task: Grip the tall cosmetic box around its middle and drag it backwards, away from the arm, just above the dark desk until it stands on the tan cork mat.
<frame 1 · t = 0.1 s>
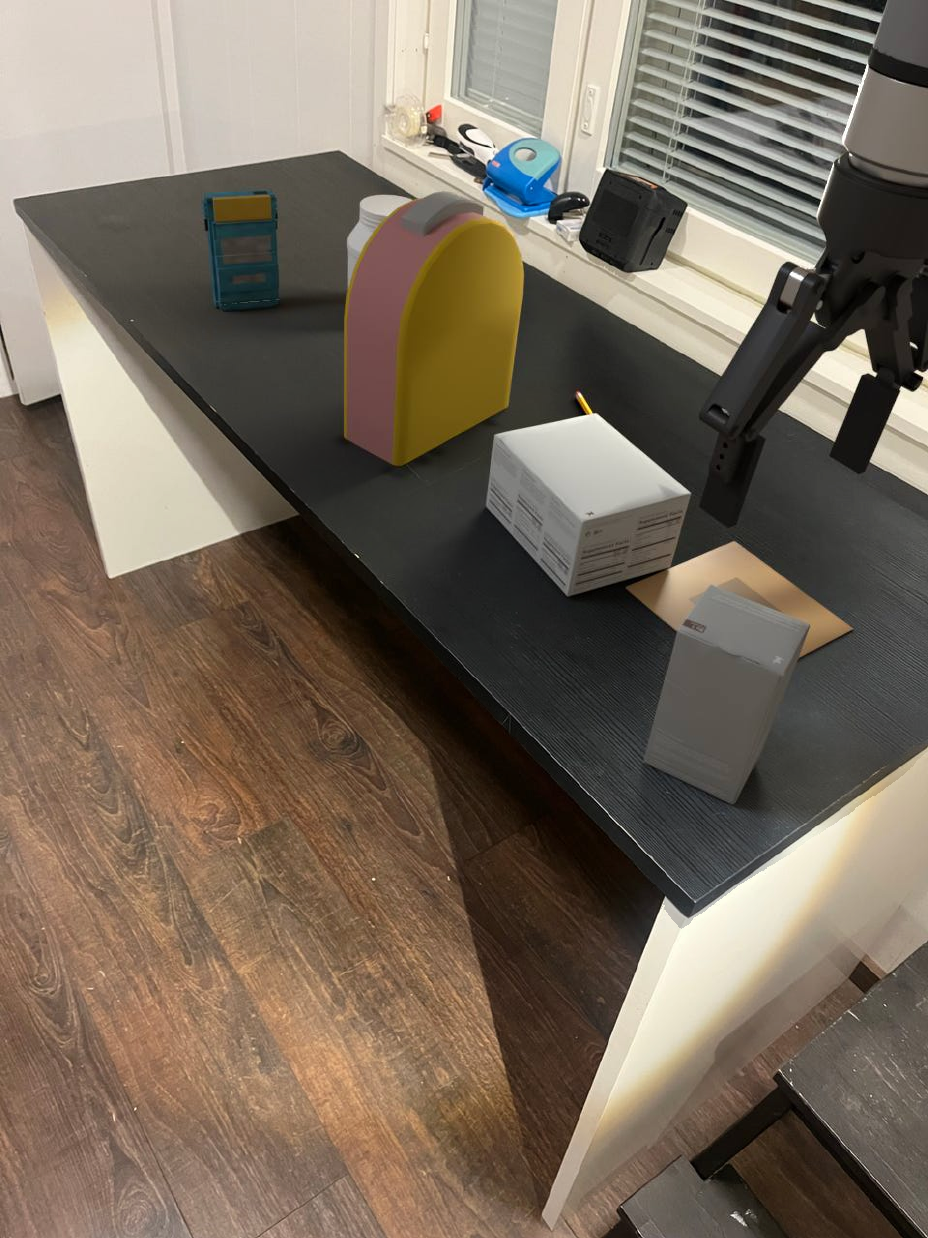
hand: (785, 489, 66), 25 cm above the table, tool pointing down, fingers open, 13 cm apart
lunch box: (429, 421, 116), on the table
pencil: (593, 424, 119), on the table
jar: (386, 313, 138), on the table
cosmetic box: (695, 763, 79), on the table
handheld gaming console: (248, 306, 135), on the table
cork mat: (738, 608, 94), on the table
supplement box: (575, 537, 101), on the table, touching cork mat
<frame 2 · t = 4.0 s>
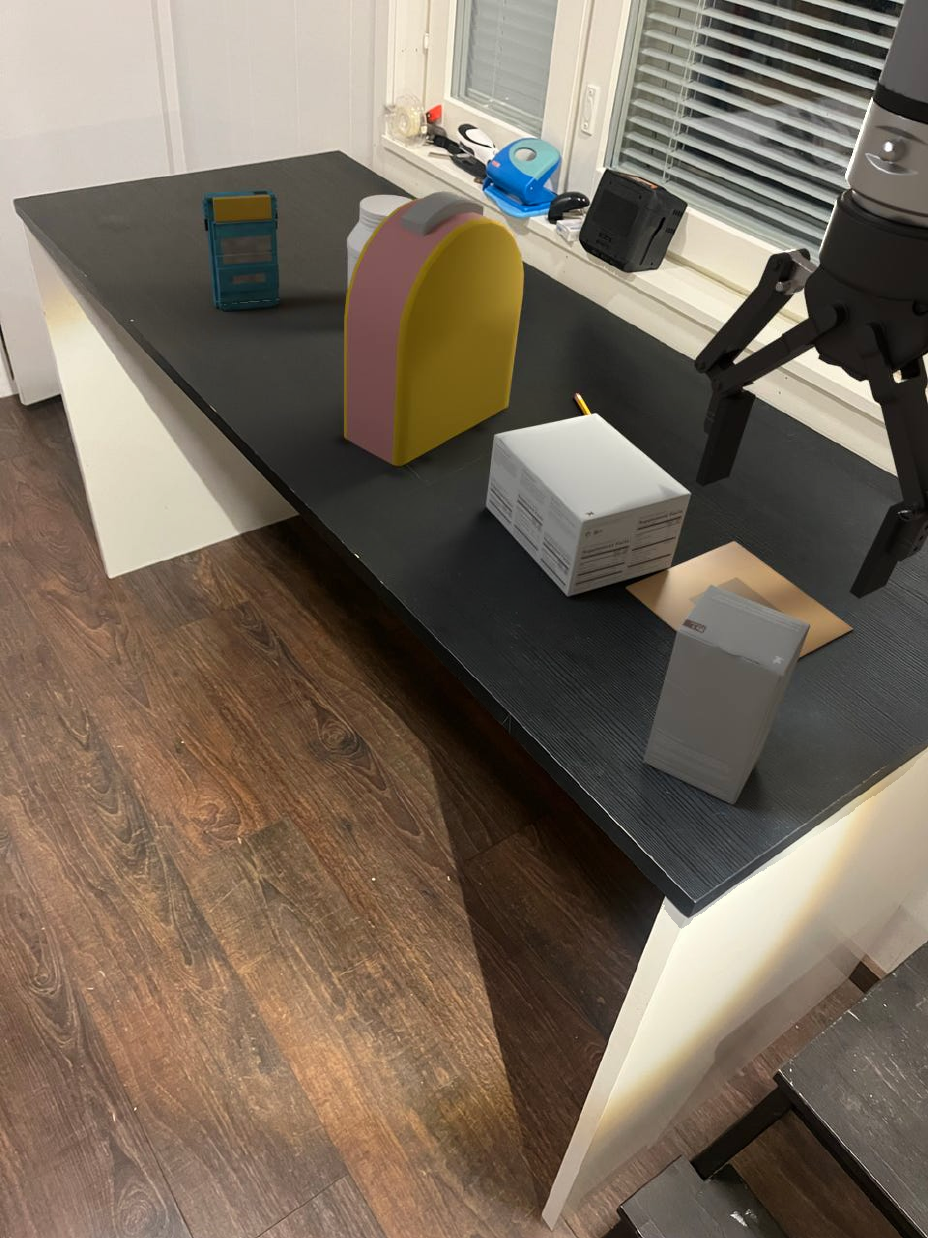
hand: (784, 531, 63), 24 cm above the table, tool pointing down, fingers open, 13 cm apart
nothing on the table moved.
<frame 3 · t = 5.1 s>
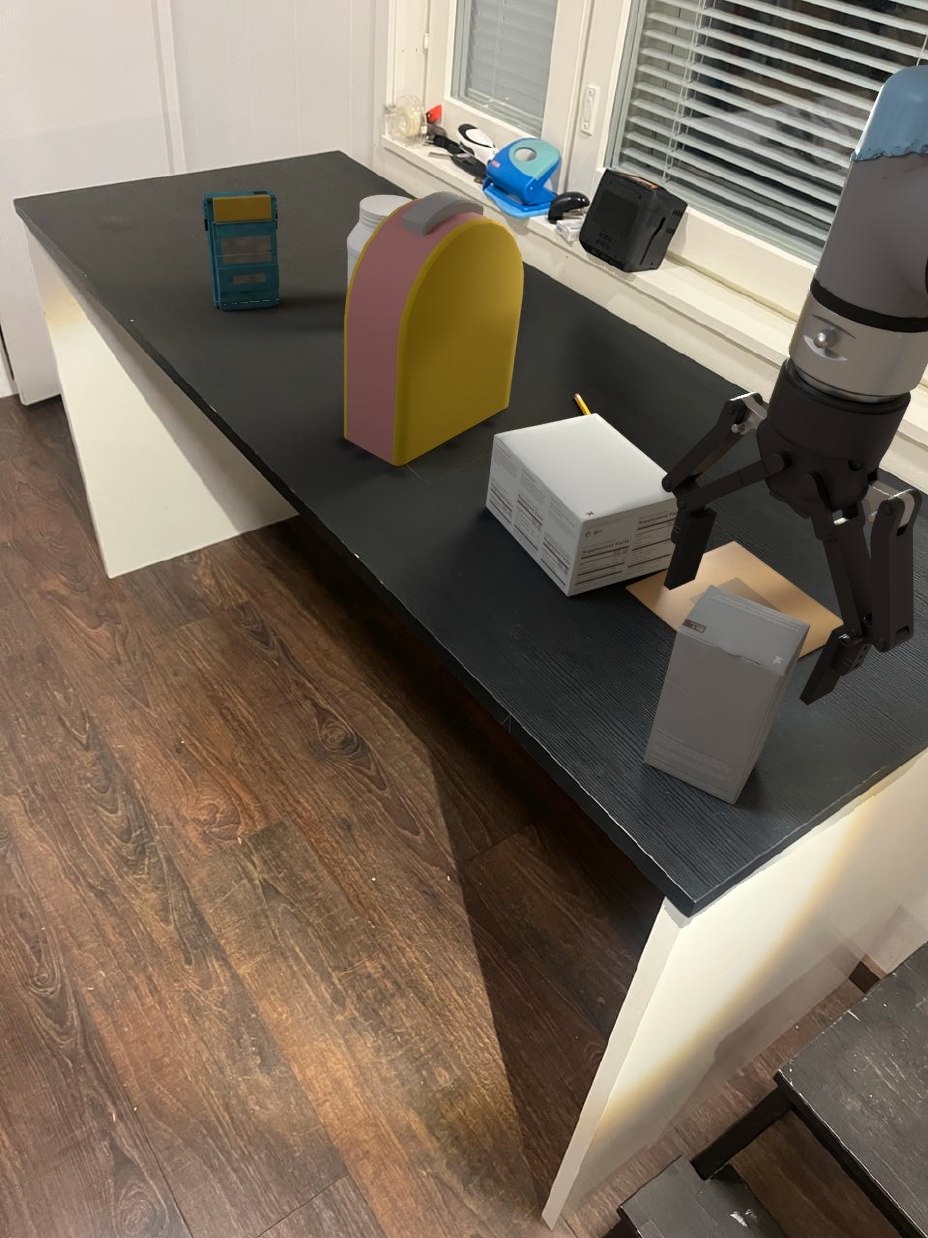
hand: (743, 636, 70), 14 cm above the table, tool pointing down, fingers open, 13 cm apart
nothing on the table moved.
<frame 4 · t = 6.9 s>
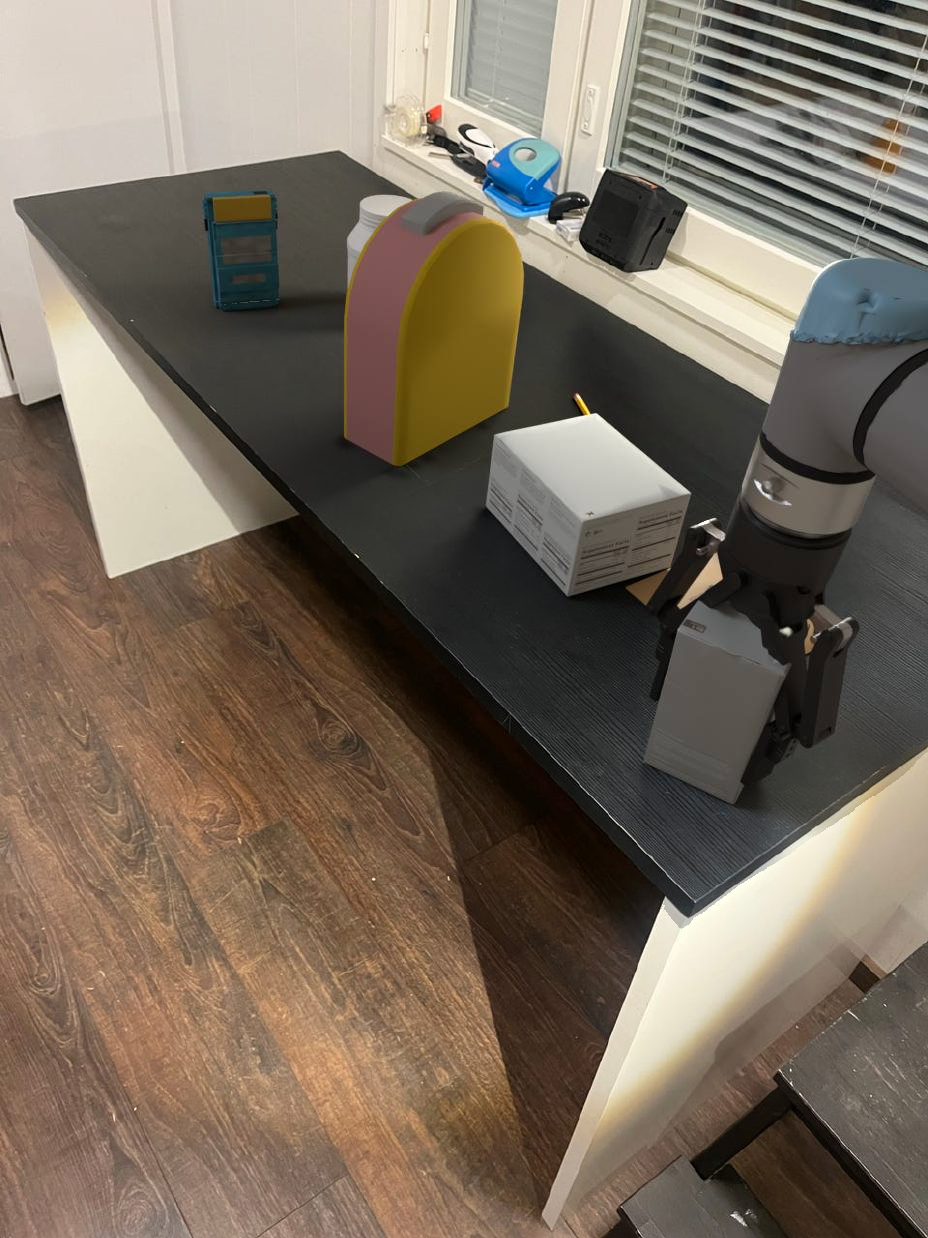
hand: (707, 733, 77), 4 cm above the table, tool pointing down, fingers closed on cosmetic box, 10 cm apart
cosmetic box: (695, 763, 79), on the table, touching gripper
everything else where it was.
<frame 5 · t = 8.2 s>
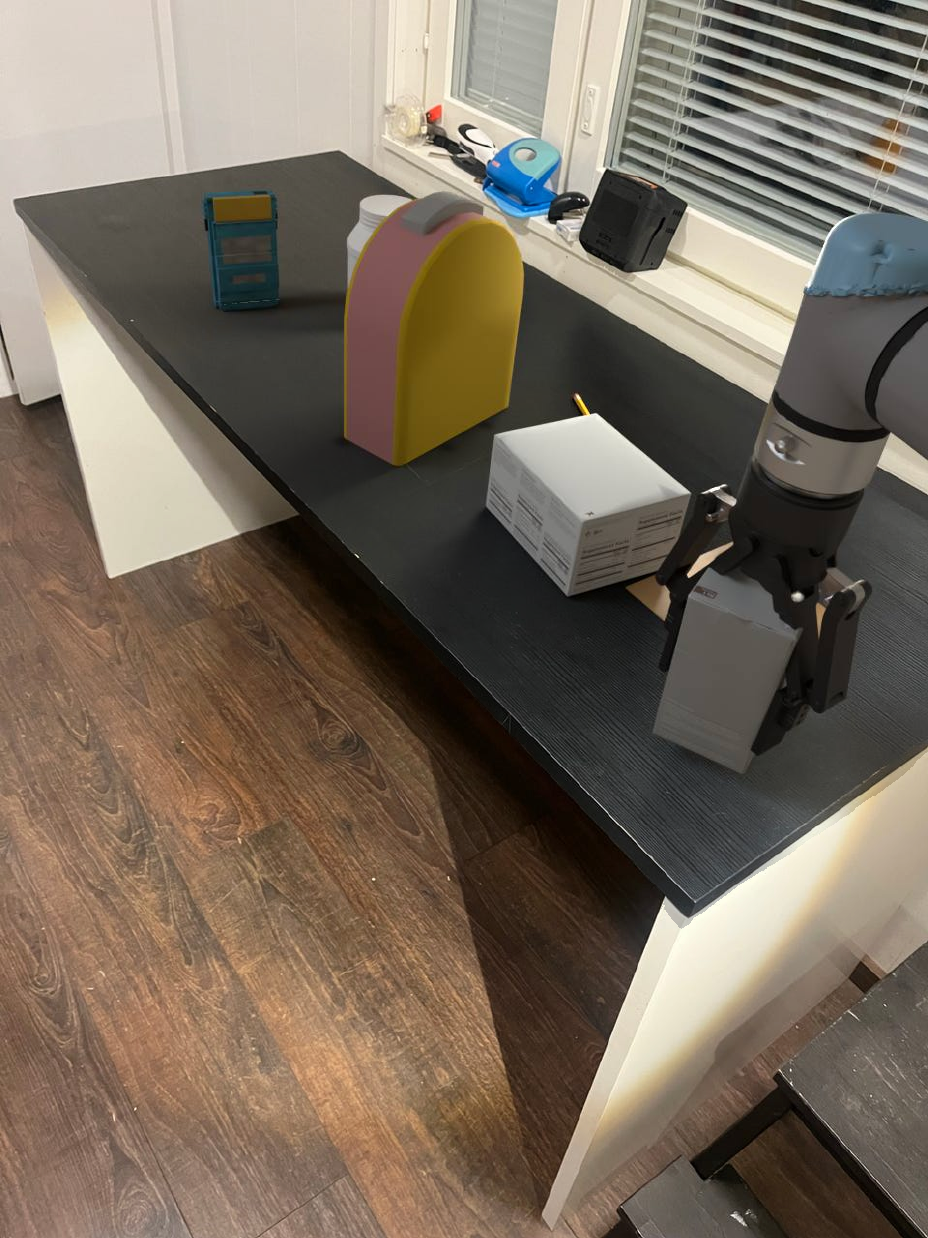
hand: (717, 703, 76), 6 cm above the table, tool pointing down, fingers closed on cosmetic box, 10 cm apart
cosmetic box: (704, 734, 79), point 2 cm above the table, touching gripper
everything else where it was.
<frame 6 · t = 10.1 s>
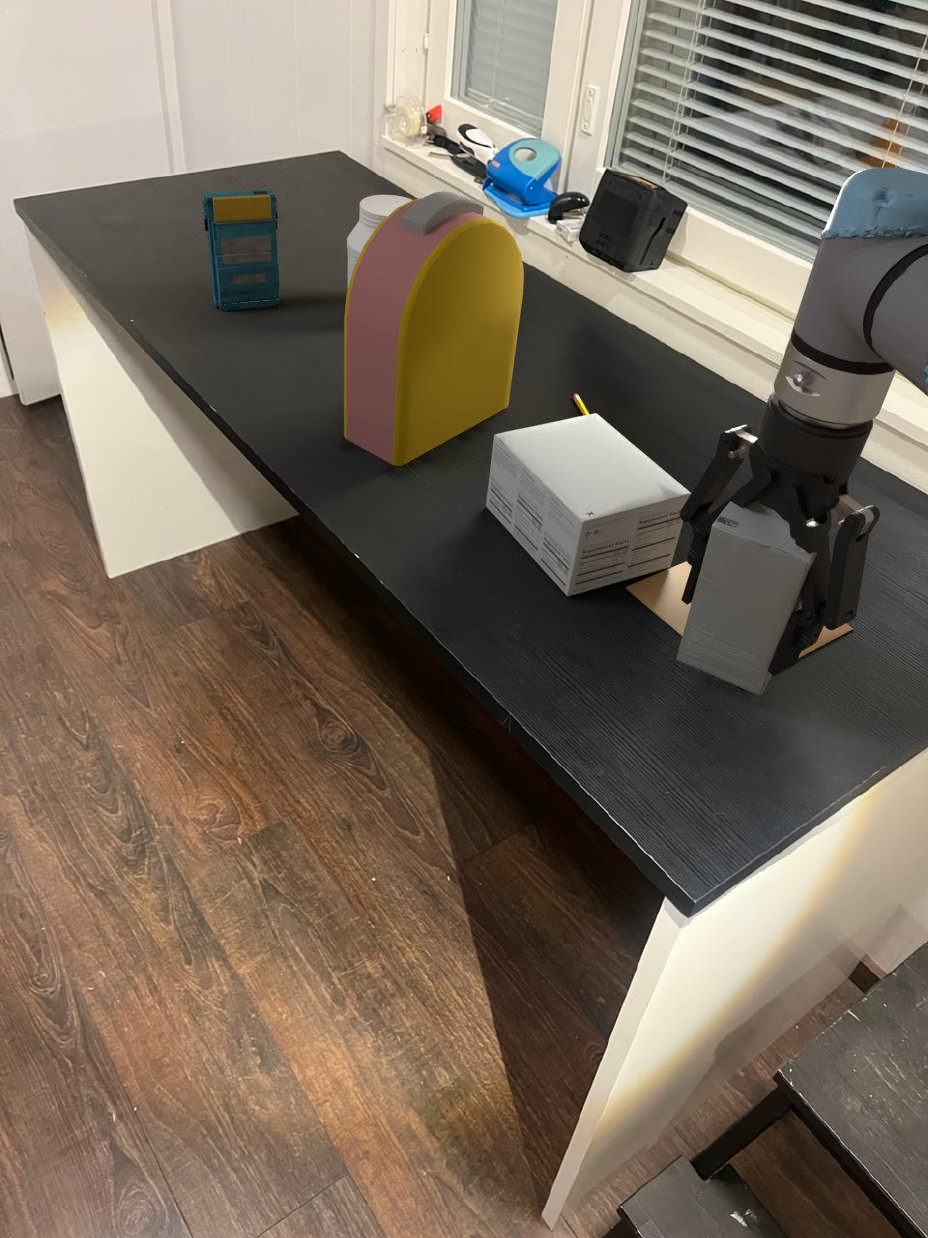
hand: (736, 631, 83), 6 cm above the table, tool pointing down, fingers closed on cosmetic box, 10 cm apart
cosmetic box: (724, 662, 86), point 2 cm above the table, touching gripper
everything else where it was.
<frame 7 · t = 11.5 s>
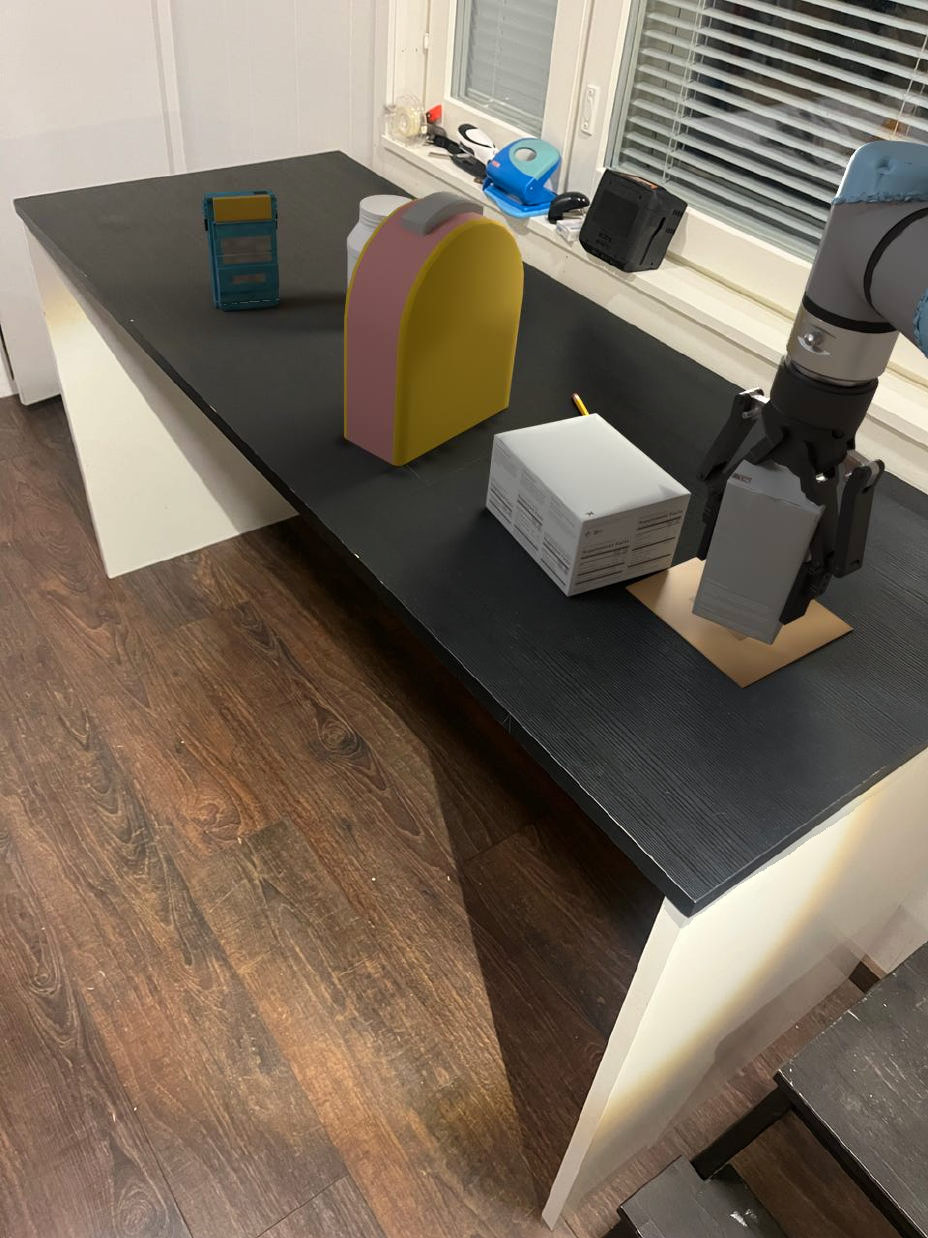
hand: (748, 585, 88), 6 cm above the table, tool pointing down, fingers closed on cosmetic box, 10 cm apart
cosmetic box: (736, 615, 91), point 2 cm above the table, touching gripper
everything else where it was.
when the fingers open (4 cm above the table, at t = 13.4 s): cosmetic box stays where it is, resting on cork mat.
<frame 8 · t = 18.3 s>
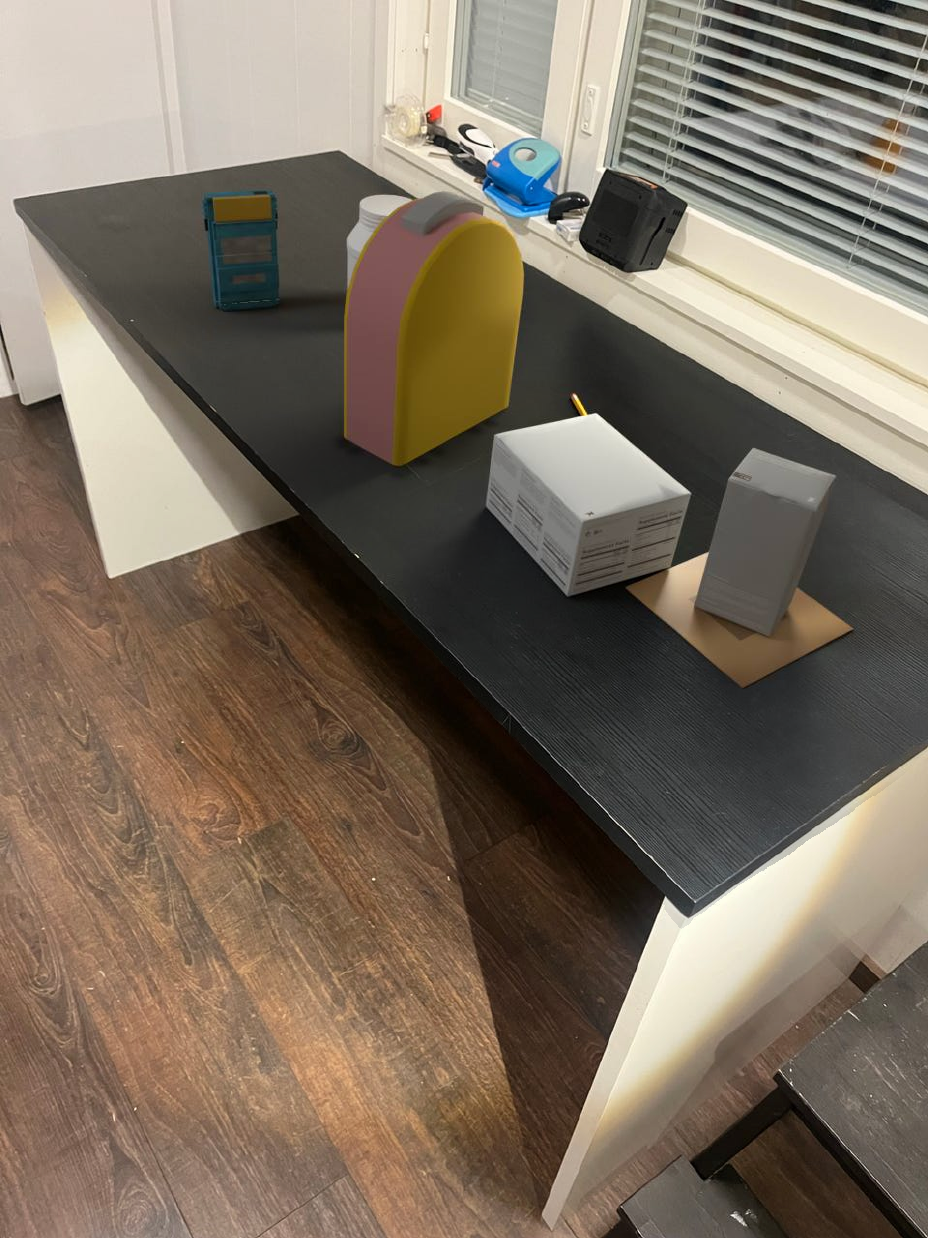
cosmetic box: (737, 609, 95), resting on cork mat
everything else where it was.
at the end: cosmetic box inside the target area on the cork mat (0.0 cm from its centre), point 0.0 cm above the cork mat's base; cosmetic box tilted 0°; cosmetic box moved 21.6 cm from its start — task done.
